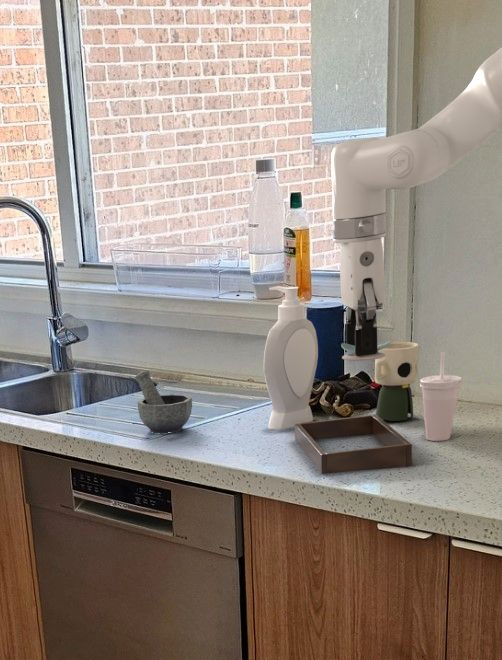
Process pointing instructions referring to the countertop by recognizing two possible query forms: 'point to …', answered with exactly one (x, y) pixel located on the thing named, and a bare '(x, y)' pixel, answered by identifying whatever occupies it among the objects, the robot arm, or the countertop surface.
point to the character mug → (396, 380)
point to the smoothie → (439, 403)
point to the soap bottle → (290, 363)
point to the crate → (388, 456)
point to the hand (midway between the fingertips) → (361, 350)
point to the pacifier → (360, 358)
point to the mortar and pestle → (162, 407)
